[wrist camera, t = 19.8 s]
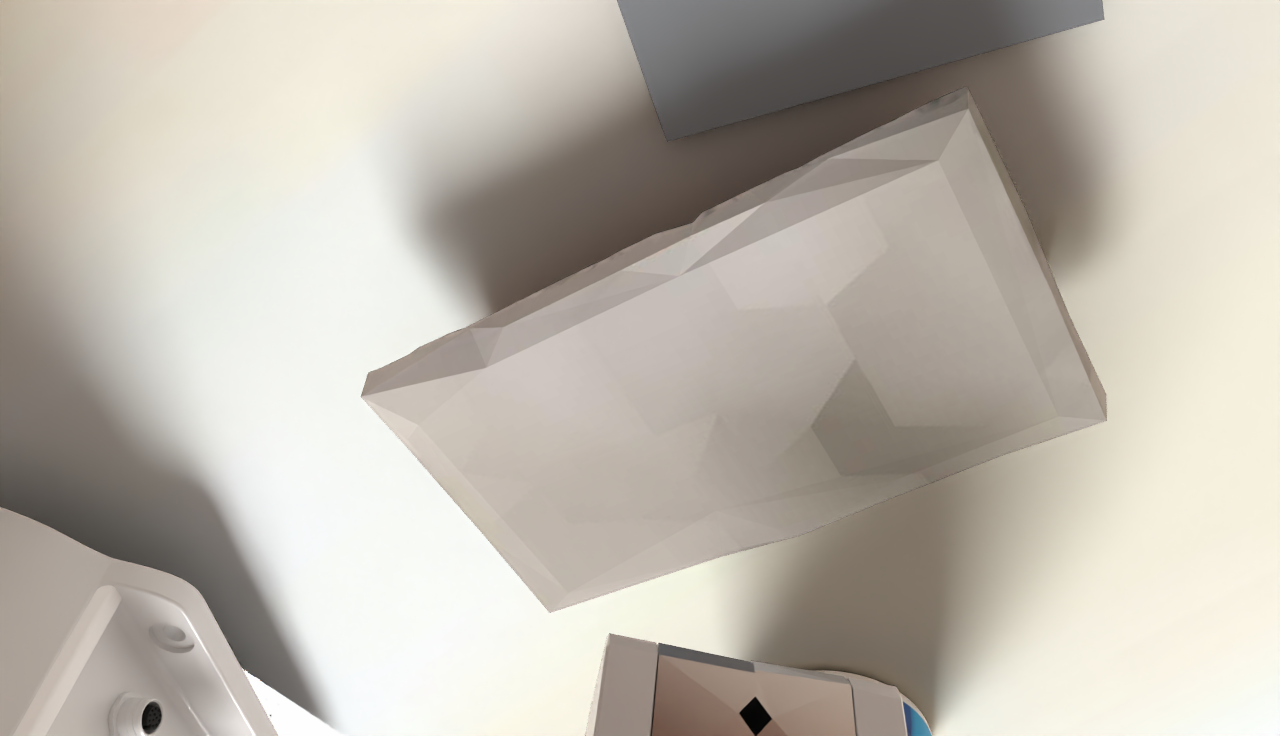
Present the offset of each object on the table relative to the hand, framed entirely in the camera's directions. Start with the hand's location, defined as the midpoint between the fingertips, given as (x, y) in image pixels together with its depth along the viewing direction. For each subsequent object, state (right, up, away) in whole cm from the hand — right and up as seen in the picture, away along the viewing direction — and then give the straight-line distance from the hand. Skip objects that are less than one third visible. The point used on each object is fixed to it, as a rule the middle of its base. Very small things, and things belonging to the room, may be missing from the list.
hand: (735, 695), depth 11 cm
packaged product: (+4, 0, +22) cm, 22 cm away
